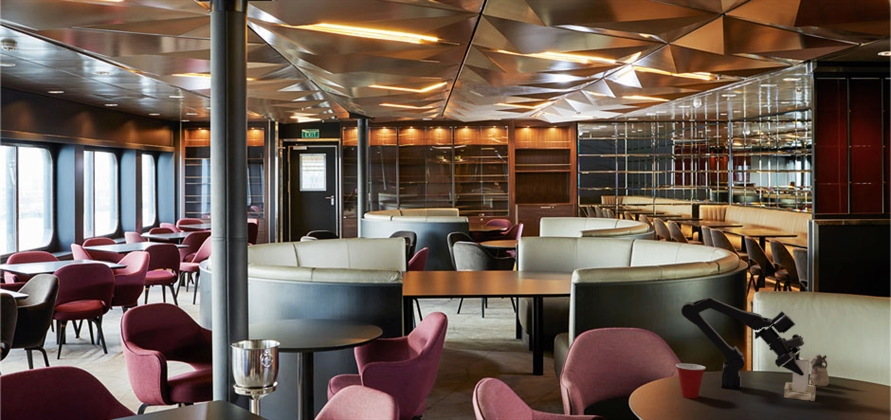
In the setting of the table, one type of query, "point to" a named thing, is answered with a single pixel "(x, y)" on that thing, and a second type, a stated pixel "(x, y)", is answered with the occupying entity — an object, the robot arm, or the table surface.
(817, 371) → the figurine
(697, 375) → the plastic cup
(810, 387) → the cradle
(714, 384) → the table surface
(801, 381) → the block
